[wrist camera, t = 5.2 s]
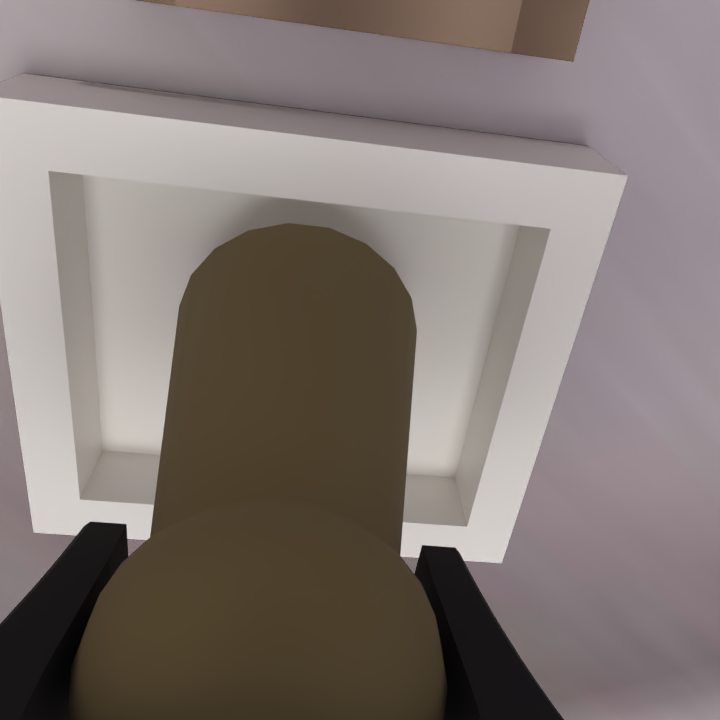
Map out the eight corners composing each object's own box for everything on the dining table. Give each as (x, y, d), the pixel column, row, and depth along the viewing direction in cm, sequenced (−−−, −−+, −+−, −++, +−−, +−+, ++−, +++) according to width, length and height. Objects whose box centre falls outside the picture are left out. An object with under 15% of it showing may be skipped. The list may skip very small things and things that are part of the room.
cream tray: (587, 145, 19) (628, 176, 16) (484, 501, 26) (501, 563, 23) (22, 73, 18) (-30, 94, 15) (65, 470, 24) (33, 532, 21)
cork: (132, 270, 16) (-129, 739, 7) (372, 186, 15) (414, 612, 6) (240, 449, 20) (153, 929, 11) (444, 390, 19) (542, 865, 10)
